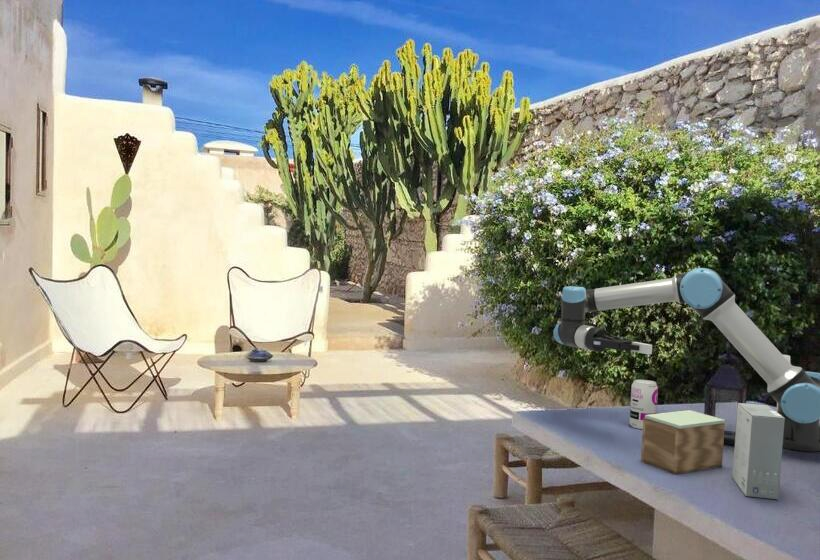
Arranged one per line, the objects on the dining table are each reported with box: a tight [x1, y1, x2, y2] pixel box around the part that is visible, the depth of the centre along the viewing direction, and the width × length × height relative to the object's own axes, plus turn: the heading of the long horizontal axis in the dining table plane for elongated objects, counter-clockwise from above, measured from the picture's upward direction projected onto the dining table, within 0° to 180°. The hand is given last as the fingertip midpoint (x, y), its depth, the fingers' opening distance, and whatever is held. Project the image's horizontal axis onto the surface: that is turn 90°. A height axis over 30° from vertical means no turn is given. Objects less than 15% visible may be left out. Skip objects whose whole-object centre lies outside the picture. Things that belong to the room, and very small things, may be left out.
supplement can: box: [629, 379, 659, 431], centre depth 244 cm, size 8×8×15 cm
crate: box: [640, 418, 726, 476], centre depth 204 cm, size 18×12×12 cm
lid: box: [645, 409, 726, 429], centre depth 203 cm, size 18×12×1 cm
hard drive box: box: [732, 402, 785, 500], centre depth 186 cm, size 16×8×20 cm, turn 168°
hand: (650, 349), depth 214 cm, fingers closed
